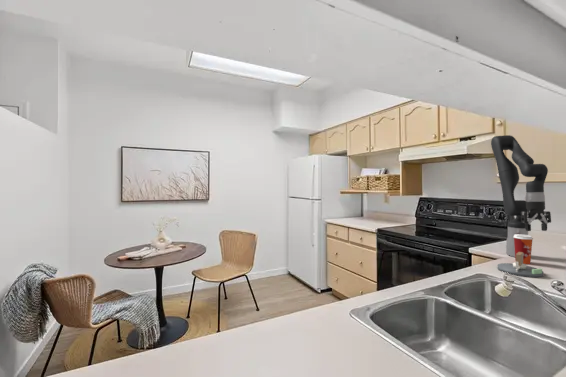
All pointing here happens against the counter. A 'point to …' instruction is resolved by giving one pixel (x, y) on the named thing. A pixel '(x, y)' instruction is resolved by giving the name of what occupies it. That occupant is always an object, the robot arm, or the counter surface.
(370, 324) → the counter surface
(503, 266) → the dial plate
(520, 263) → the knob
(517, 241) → the coffee cup
